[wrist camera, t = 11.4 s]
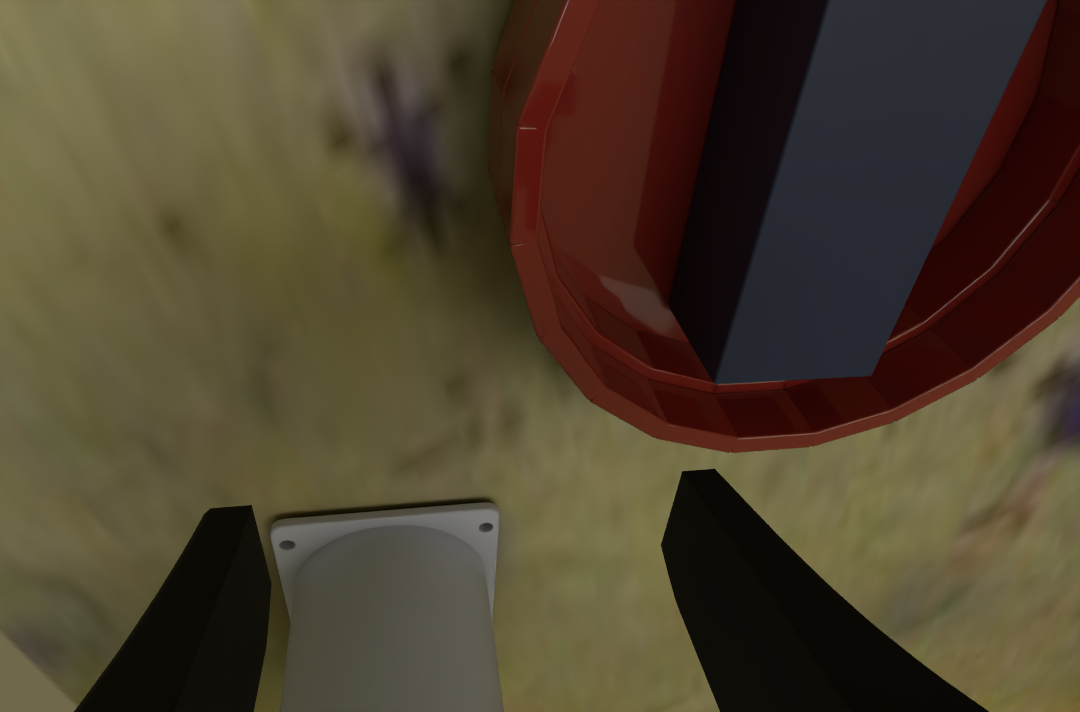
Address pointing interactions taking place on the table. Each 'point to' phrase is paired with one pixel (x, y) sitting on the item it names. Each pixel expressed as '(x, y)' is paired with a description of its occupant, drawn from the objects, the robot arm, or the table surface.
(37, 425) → the table surface
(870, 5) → the dark blue-grey block
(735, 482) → the table surface
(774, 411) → the bowl
